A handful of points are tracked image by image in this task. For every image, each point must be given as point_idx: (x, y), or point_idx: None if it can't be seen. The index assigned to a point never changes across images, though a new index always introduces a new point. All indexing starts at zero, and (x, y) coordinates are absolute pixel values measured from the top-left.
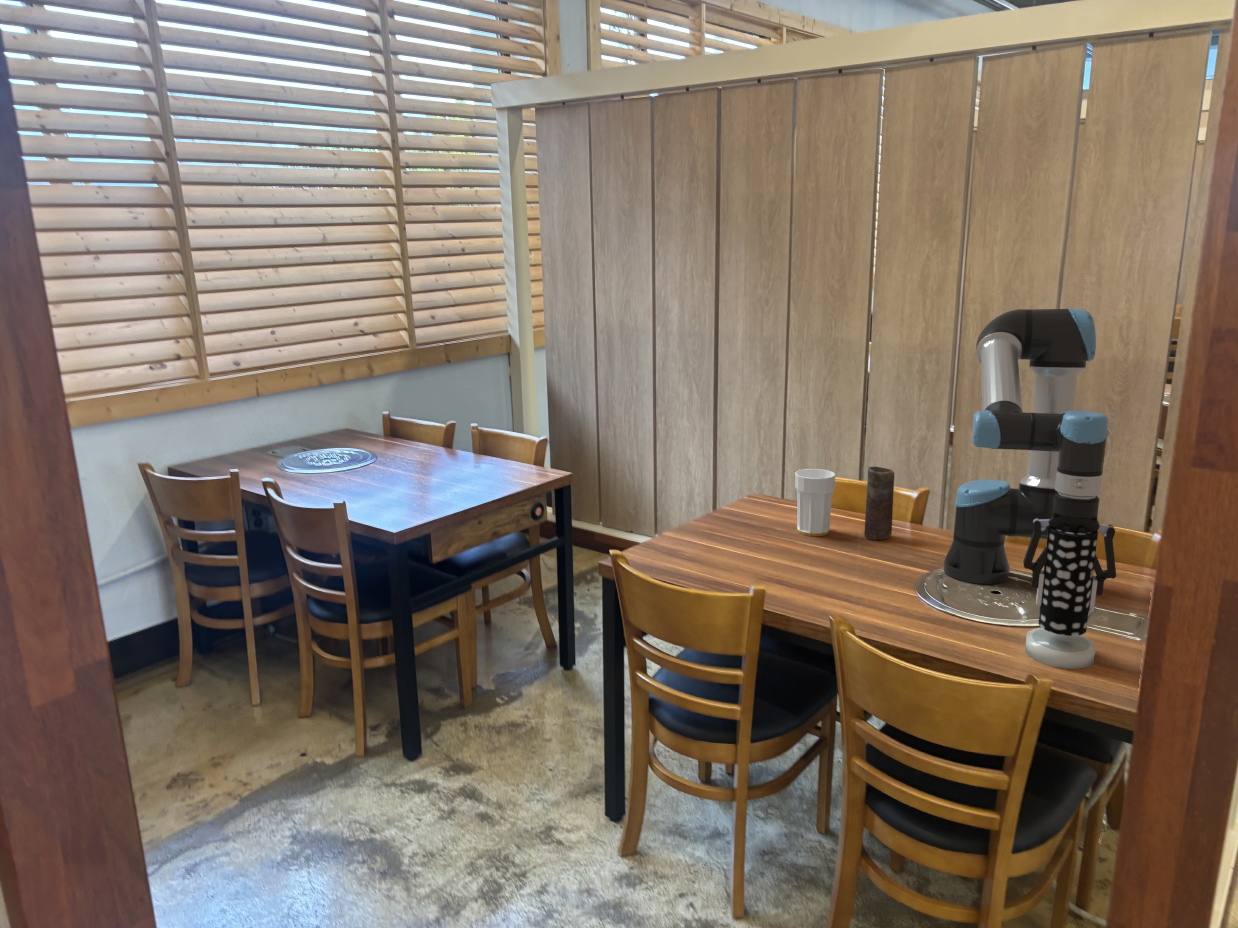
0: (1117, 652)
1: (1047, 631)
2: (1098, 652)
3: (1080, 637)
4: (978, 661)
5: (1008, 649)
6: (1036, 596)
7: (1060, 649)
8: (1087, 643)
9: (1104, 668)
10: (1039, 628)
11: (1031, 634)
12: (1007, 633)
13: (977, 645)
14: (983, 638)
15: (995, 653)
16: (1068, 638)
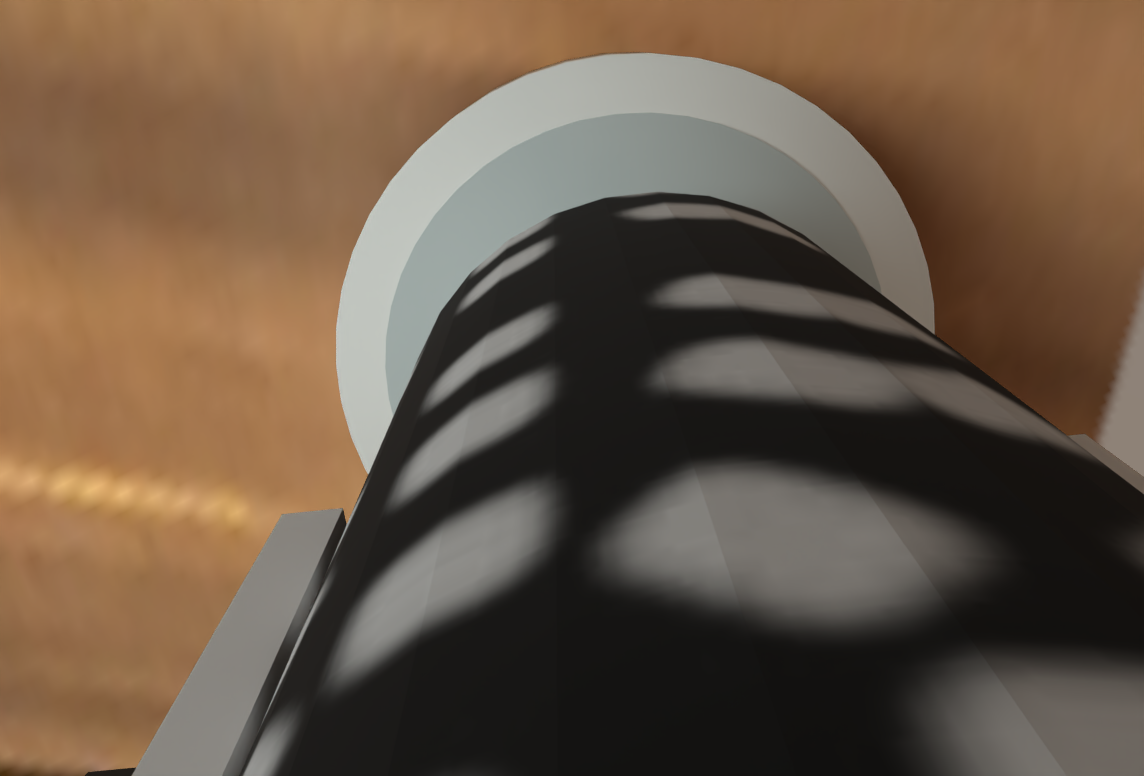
0: (1107, 42)
1: (511, 227)
2: (942, 125)
3: (819, 230)
4: (119, 690)
5: (252, 411)
6: (263, 555)
7: None
8: None
9: None
10: (428, 159)
11: (378, 355)
12: (161, 65)
13: (21, 447)
14: (13, 288)
15: (184, 523)
16: None
